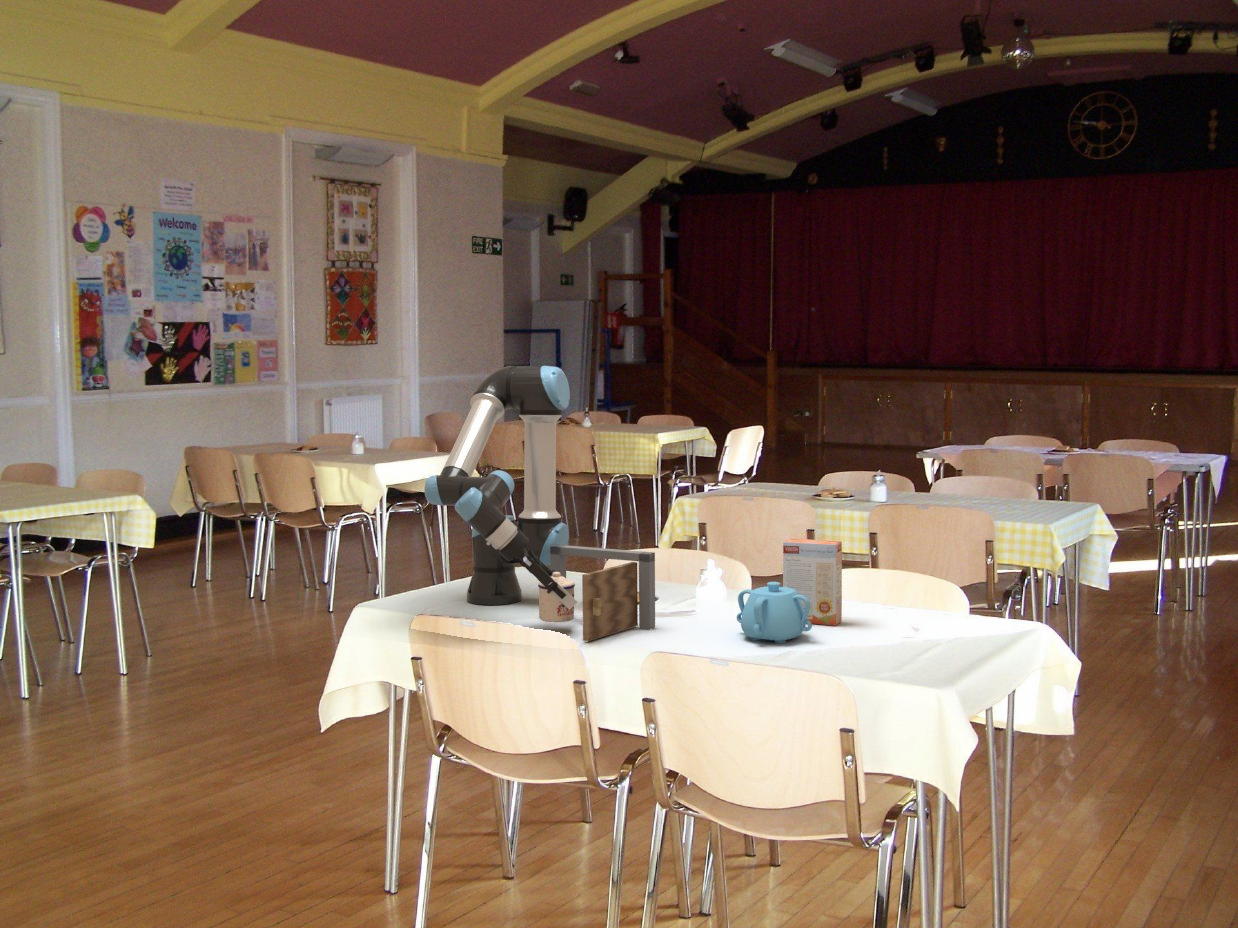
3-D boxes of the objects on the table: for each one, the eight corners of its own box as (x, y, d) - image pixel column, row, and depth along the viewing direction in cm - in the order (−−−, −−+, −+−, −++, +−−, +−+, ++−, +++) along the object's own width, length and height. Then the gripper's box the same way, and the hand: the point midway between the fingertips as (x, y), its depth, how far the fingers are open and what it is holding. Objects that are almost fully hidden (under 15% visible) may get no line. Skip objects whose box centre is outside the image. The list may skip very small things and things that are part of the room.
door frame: (556, 616, 334) (555, 544, 332) (655, 627, 321) (654, 552, 319) (551, 618, 331) (549, 546, 329) (650, 629, 318) (649, 554, 316)
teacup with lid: (561, 624, 311) (561, 577, 310) (531, 620, 316) (530, 573, 314) (588, 615, 321) (588, 569, 320) (557, 610, 326) (557, 565, 325)
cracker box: (842, 621, 326) (843, 540, 323) (835, 626, 320) (836, 544, 318) (789, 616, 331) (789, 537, 329) (782, 621, 326) (782, 540, 324)
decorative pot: (733, 631, 317) (733, 577, 315) (796, 628, 319) (796, 574, 317) (748, 647, 300) (748, 590, 299) (815, 644, 302) (815, 587, 301)
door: (632, 624, 322) (632, 561, 320) (643, 626, 320) (642, 563, 318) (583, 640, 306) (582, 574, 304) (593, 642, 304) (592, 575, 302)
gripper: (495, 543, 326) (557, 602, 329) (498, 559, 303) (564, 622, 306) (516, 522, 326) (577, 581, 329) (521, 536, 303) (586, 599, 307)
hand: (571, 600), depth 318 cm, fingers closed on teacup with lid, 11 cm apart
